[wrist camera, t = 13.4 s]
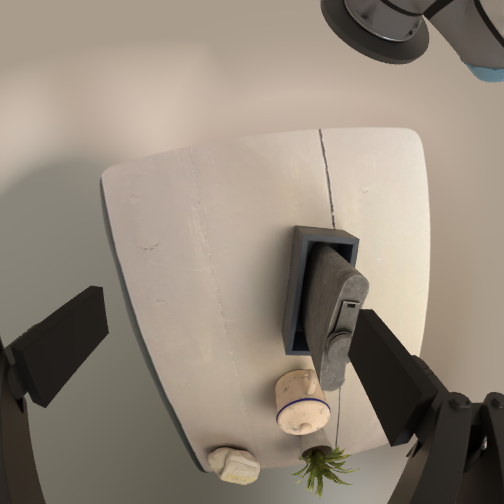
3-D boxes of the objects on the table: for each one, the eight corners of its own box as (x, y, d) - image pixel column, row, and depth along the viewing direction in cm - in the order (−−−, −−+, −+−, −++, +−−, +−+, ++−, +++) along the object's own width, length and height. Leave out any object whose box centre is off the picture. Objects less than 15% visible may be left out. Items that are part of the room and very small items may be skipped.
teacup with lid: (313, 403, 49) (323, 445, 38) (269, 400, 49) (272, 445, 37) (331, 357, 46) (349, 399, 35) (283, 352, 46) (290, 397, 35)
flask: (294, 327, 44) (314, 405, 26) (306, 240, 40) (344, 282, 23) (316, 328, 44) (345, 403, 26) (330, 242, 40) (381, 283, 23)
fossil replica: (207, 440, 53) (214, 458, 56) (200, 468, 45) (208, 484, 48) (260, 443, 51) (261, 461, 54) (257, 473, 43) (259, 488, 47)
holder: (294, 225, 41) (302, 233, 34) (343, 230, 41) (359, 239, 34) (281, 331, 45) (285, 355, 38) (325, 332, 45) (335, 355, 38)
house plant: (344, 444, 53) (358, 495, 37) (288, 456, 54) (294, 508, 38) (345, 410, 50) (365, 468, 34) (281, 423, 50) (287, 485, 35)
